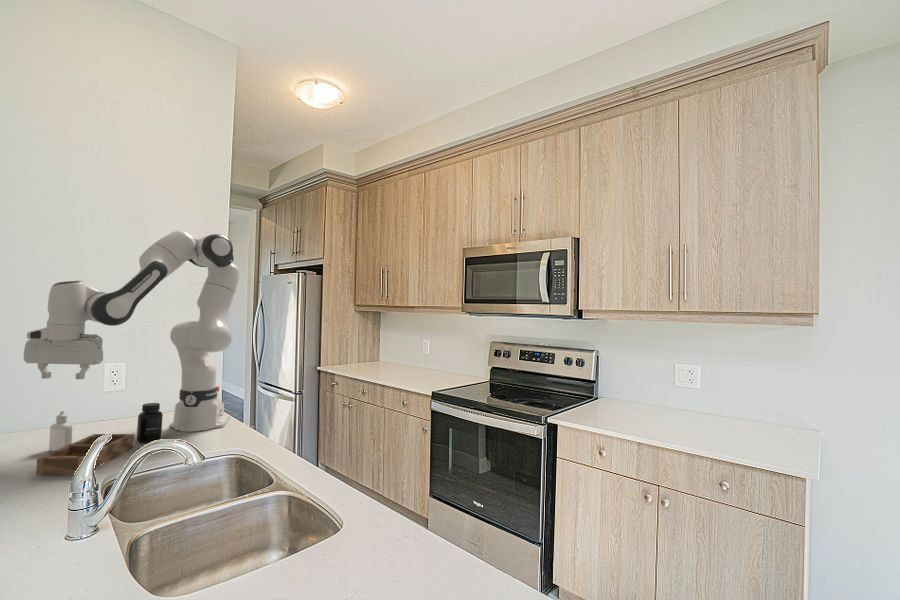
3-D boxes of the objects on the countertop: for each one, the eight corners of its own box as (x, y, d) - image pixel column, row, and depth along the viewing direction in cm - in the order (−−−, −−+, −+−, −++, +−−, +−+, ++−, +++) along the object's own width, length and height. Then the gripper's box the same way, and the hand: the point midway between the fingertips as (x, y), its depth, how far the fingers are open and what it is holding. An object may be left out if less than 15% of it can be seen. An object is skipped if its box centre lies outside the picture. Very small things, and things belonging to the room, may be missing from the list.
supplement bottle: (148, 444, 141) (150, 407, 141) (131, 442, 142) (132, 405, 142) (166, 438, 148) (168, 402, 148) (149, 436, 149) (151, 401, 149)
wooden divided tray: (93, 448, 135) (94, 433, 135) (133, 448, 137) (133, 433, 137) (36, 475, 114) (36, 457, 114) (83, 475, 115) (84, 457, 115)
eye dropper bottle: (54, 454, 129) (55, 413, 130) (47, 450, 132) (49, 410, 133) (72, 450, 133) (74, 411, 133) (66, 446, 136) (67, 408, 136)
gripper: (109, 333, 137) (106, 377, 137) (38, 331, 135) (35, 376, 135) (95, 335, 131) (92, 381, 131) (20, 332, 129) (17, 379, 129)
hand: (63, 378), depth 133 cm, fingers open, 8 cm apart
